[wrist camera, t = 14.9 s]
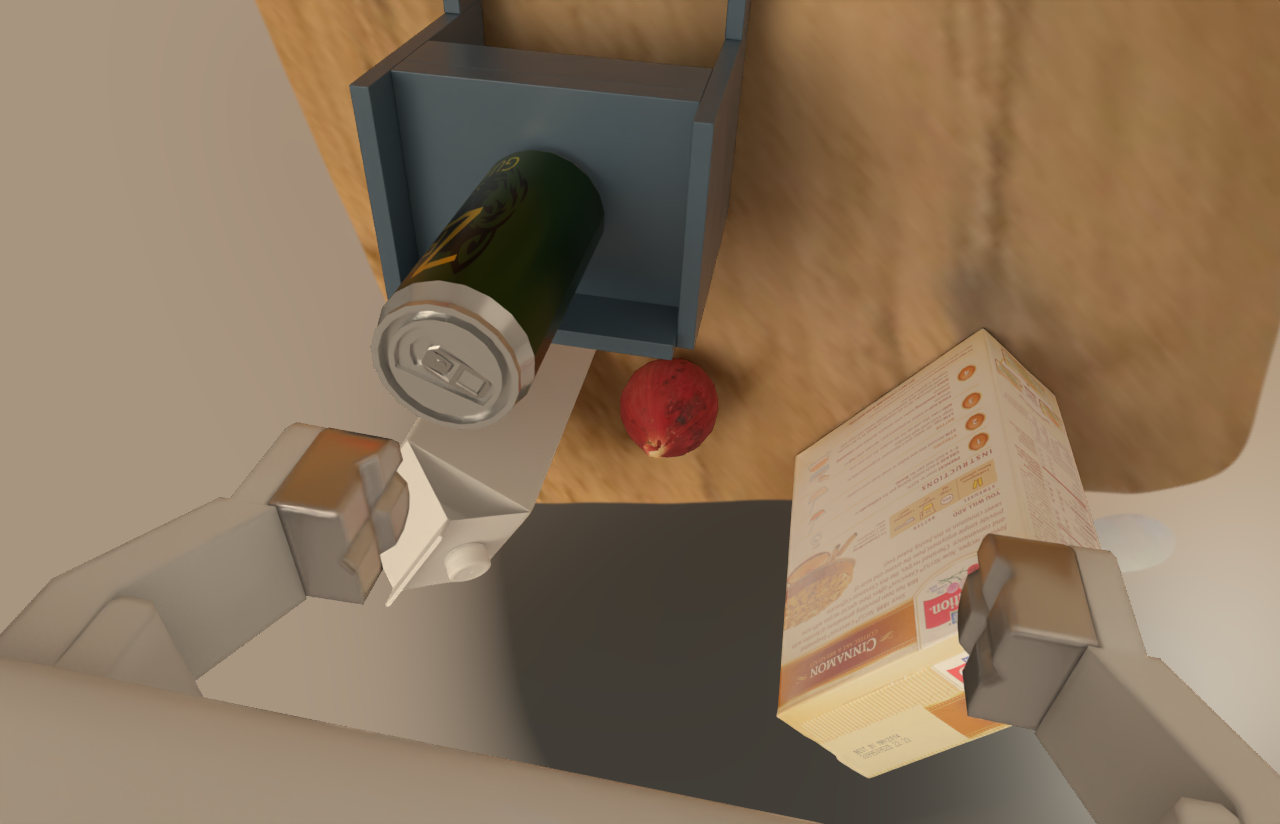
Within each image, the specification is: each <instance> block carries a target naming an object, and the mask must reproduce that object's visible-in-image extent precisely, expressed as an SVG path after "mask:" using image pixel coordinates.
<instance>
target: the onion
mask: <svg viewBox="0 0 1280 824" xmlns="http://www.w3.org/2000/svg"><path fill="white" fill-rule="evenodd" d="M717 412H718V398H717V394H716V389H715V385H714V383H713V382H712V380H711V379H710V378H709V376H708V375H707V374H706V373H705V372H704V371H703V370H702V368H701V367H700V366H698V365H696V364H694V363H691V362H689V361H687V360H685V359H675V358H672V360H665V359H661V360H656V361H652V362H649V363H647V364H645V365H644V366H642V367H641V368H639V369H638V370H636V371H635V372H634V373H633V375H632V377H631V378H630V380H629V381H628V383H627V385H626V386H625V388H624V389H623V391H622V394H621V400H620V415H621V419H622V422H623V424H624V426H625V429H626V431H627V433H628V435H629V436H630V438H631V439H632V440H633V441H634V442H635V443H636V444H637V445H638V446H639V447H640V448H641V449H643V450H644V451H645V453H646V454H647V455H648V457H651V458H656V459H658V458H659V457H661V456H662V457H676V456H681V455H684V454H686V453H688V452H690V451H692V450H694V449H696V448H697V447H699V446H700V444H701V443H702V442H703V441H704V440H705V438H706V437H707V436H708V435H709V434H710V433H711V432H712V430H713V427H714V424H715V421H716V417H717Z"/></svg>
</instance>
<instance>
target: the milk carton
mask: <svg viewBox="0 0 1280 824" xmlns="http://www.w3.org/2000/svg"><path fill="white" fill-rule="evenodd" d="M595 352H596V350H594V349H587V348H580V347H573V346H566V345H559V344H552V343H551V345H550V347H549V349H548V351H547V353H546V355H545V357H544V359H543V361H542V363H541V366H540V368H539V370H538V372H537V374H536V376H535V378H534V380H533V382H532V385H531V387H530V389H529V391H528V393H527V395H526V396H525V397H524V398H522V399H521V400H520V401H519V402H518V403H517V404H516V405H515V406H514V407H513V408H512V410H511V411H510V412H509V413H508V414H507V415H505V416H504V417H503V418H502V419H501V420H500V421H499V422H497V423H494V424H491V425H489V426H486V427H483V428H480V429H462V430H460V429H454V428H449V427H444V426H439V425H436V424H434V423H432V422H430V421H427V420H425V419H423V418H420V417H418V418H417V420H416V422H415V423H414V425H413V426H412V428H411V430H410V431H409V433H408V435H407V436H406V438H405V439H404V441H403V443H402V445H401V446H400V450H401V454H402V458H403V461H402V463H401V464H400V466H399V468H398V469H397V472H398V473H399V474H400V475H401V476H402V477H403V478H404V480H405V481H406V482H407V483H408V489H409V494H410V501H409V513H408V517H407V521H406V524H405V528H404V531H403V533H402V534H401V536H400V538H399V540H398V542H397V544H396V545H395V546H393V547H392V548H390V549H388V550H387V551H385V552H383V553H382V554H380V557H381V561H382V566H383V568H384V571H385V573H386V575H387V577H388V579H389V581H390V583H391V585H392V587H393V591H392V592H391V594H390V596H389V598H388V600H387V602H386V604H385V606H387V607H389V606H390V605H391V603H392V602H393V601H394V600H395V598H396V597H397V596H398V595H399V593H400V592H401V591H402V590H405V589H411V588H417V587H423V586H430V585H436V584H442V583H448V582H462V581H467V580H471V579H474V578H476V577H478V576H480V575H482V574H484V573H485V572H486V571H487V570H488V569H489V568H490V566H491V562H490V559H491V558H492V557H493V555H495V553H496V552H497V551H498V550H499V549H500V548H501V547H502V545H503V544H504V543H505V542H506V541H507V540H508V539H509V537H510V536H511V535H512V534H513V533H514V532H515V531H516V530H517V528H518V527H519V526H520V525H521V524H522V523H523V522H524V520H525V519H526V518H527V517H528V515H529V514H530V513H531V511H532V509H533V507H534V505H535V502H536V500H537V497H538V495H539V492H540V490H541V487H542V485H543V482H544V480H545V477H546V475H547V472H548V470H549V467H550V465H551V462H552V460H553V457H554V455H555V452H556V450H557V447H558V445H559V442H560V440H561V437H562V435H563V432H564V430H565V427H566V425H567V422H568V420H569V417H570V415H571V412H572V410H573V407H574V405H575V402H576V400H577V397H578V395H579V392H580V390H581V387H582V385H583V382H584V380H585V377H586V375H587V372H588V370H589V367H590V365H591V362H592V360H593V357H594V355H595Z"/></svg>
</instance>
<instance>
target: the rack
mask: <svg viewBox="0 0 1280 824" xmlns="http://www.w3.org/2000/svg"><path fill="white" fill-rule="evenodd" d="M443 2H444V12H445V14H443V15H442V16H441V17H439V18H438V19H437V20H435V21H434V22H433V23H431V24H430V25H429V26H427V27H426V28H425V29H423V30H422V31H421V32H419V33H418V34H417V35H415V36H414V37H413V38H411V39H410V40H409V41H407V42H406V43H405V44H403V45H402V46H401V47H399V48H398V49H397V50H395V51H394V52H393V53H391V54H390V55H389V56H387V57H386V58H385V59H383V60H382V61H381V62H379V63H378V64H377V65H375V66H374V67H373V68H371V69H370V70H369V71H367V72H366V73H365V74H363V75H362V76H361V77H359V78H358V79H357V80H355V81H354V82H353V83H351V84H350V85H349V87H350V92H351V98H352V103H353V109H354V114H355V120H356V126H357V131H358V137H359V142H360V148H361V153H362V159H363V164H364V170H365V176H366V181H367V187H368V192H369V198H370V203H371V209H372V214H373V220H374V226H375V231H376V237H377V242H378V248H379V253H380V259H381V264H382V270H383V276H384V281H385V287H386V292H387V298H388V300H389V299H390V297H391V296H392V295H393V294H394V292H395V291H396V290H397V288H398V287H399V286H400V285H401V283H402V282H403V281H404V279H405V278H406V277H407V276H408V274H409V273H410V272H411V271H412V269H413V268H414V267H415V265H416V264H417V263H418V262H419V260H420V259H421V258H422V256H423V255H424V254H425V253H426V251H427V250H428V249H429V247H430V246H431V245H432V244H433V242H434V241H435V240H436V239H437V237H438V236H439V235H440V233H441V232H442V231H443V230H444V228H445V227H446V226H447V224H448V223H449V222H450V221H451V219H452V218H453V217H454V216H455V214H456V213H457V212H458V210H459V209H460V208H461V207H462V205H463V204H464V203H465V201H466V200H467V199H468V198H469V196H470V195H471V194H472V192H473V191H474V190H475V189H476V187H477V186H478V185H479V184H480V182H481V181H482V180H483V178H484V177H485V176H486V175H487V173H488V172H489V171H490V170H491V169H492V167H493V166H494V165H495V164H496V162H497V161H499V160H501V159H503V158H505V157H506V156H508V155H510V154H512V153H514V152H521V151H527V150H543V151H549V152H555V153H558V154H560V155H562V156H564V157H566V158H568V159H570V160H572V161H574V162H575V163H576V164H577V165H578V166H580V167H581V168H582V169H583V170H584V171H585V172H586V173H587V174H588V175H589V177H590V179H591V180H592V182H593V183H594V185H595V187H596V188H597V190H598V192H599V194H600V198H601V202H602V205H603V209H604V213H605V217H604V232H603V234H602V236H601V239H600V241H599V243H598V245H597V248H596V250H595V252H594V254H593V256H592V258H591V260H590V262H589V264H588V267H587V269H586V271H585V273H584V275H583V277H582V279H581V281H580V283H579V285H578V288H577V290H576V292H575V294H574V296H573V298H572V300H571V302H570V304H569V307H568V309H567V311H566V313H565V315H564V317H563V319H562V321H561V323H560V326H559V328H558V330H557V332H556V334H555V336H554V338H553V340H552V342H551V343H552V344H559V345H566V346H573V347H580V348H587V349H594V350H602V351H609V352H616V353H623V354H630V355H637V356H644V357H651V358H658V359H665V360H672V358H673V354H674V351H675V347H679V348H686V349H694V347H695V343H696V339H697V335H698V331H699V327H700V323H701V319H702V315H703V311H704V307H705V303H706V299H707V295H708V291H709V287H710V283H711V279H712V275H713V271H714V267H715V263H716V259H717V255H718V251H719V247H720V243H721V239H722V235H723V231H724V227H725V223H726V219H727V215H728V207H729V197H730V188H731V179H732V170H733V160H734V151H735V142H736V133H737V124H738V114H739V105H740V96H741V87H742V77H743V68H744V59H745V50H746V40H747V31H748V21H749V12H750V3H751V0H728V8H727V19H726V30H725V41H724V43H723V46H722V48H721V51H720V53H719V56H718V58H717V61H716V64H715V66H714V69H712V68H703V67H692V66H682V65H672V64H662V63H652V62H642V61H631V60H621V59H611V58H601V57H591V56H580V55H570V54H560V53H550V52H540V51H530V50H519V49H509V48H499V47H489V46H485V40H484V27H483V14H482V1H481V0H443Z"/></svg>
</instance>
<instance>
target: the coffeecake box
mask: <svg viewBox="0 0 1280 824" xmlns="http://www.w3.org/2000/svg"><path fill="white" fill-rule="evenodd" d="M988 533H991V534H998V535H1004V536H1011V537H1018V538H1025V539H1031V540H1038V541H1045V542H1051V543H1058V544H1064V545H1066V546H1068V545H1072V546H1079V547H1086V548H1093V549H1100V550H1101V547H1100V544H1099V541H1098V537H1097V534H1096V531H1095V527H1094V524H1093V520H1092V517H1091V514H1090V510H1089V507H1088V503H1087V500H1086V497H1085V493H1084V490H1083V486H1082V483H1081V480H1080V476H1079V473H1078V470H1077V466H1076V463H1075V460H1074V456H1073V453H1072V450H1071V447H1070V443H1069V440H1068V437H1067V433H1066V430H1065V426H1064V423H1063V420H1062V416H1061V413H1060V410H1059V407H1058V404H1057V401H1056V397H1055V395H1054V394H1053V393H1052V392H1051V391H1049V390H1048V389H1047V388H1046V387H1045V386H1044V385H1043V384H1042V383H1041V382H1040V381H1039V380H1038V379H1036V378H1035V377H1034V376H1033V375H1032V374H1031V373H1030V372H1029V371H1028V370H1027V369H1026V368H1025V367H1024V366H1023V365H1021V364H1020V363H1019V362H1018V361H1017V360H1016V359H1015V358H1014V357H1013V356H1012V355H1011V354H1010V353H1009V352H1008V351H1007V350H1006V349H1005V348H1004V347H1003V346H1002V345H1001V344H1000V343H999V342H998V341H997V340H996V339H995V338H993V337H992V336H991V335H990V334H989V333H988V332H987V331H986V330H985V329H984V328H983V329H981V330H979V331H978V332H976V333H975V334H973V335H972V336H970V337H969V338H967V339H966V340H964V341H963V342H961V343H960V344H958V345H957V346H955V347H954V348H952V349H951V350H950V351H948V352H947V353H945V354H944V355H942V356H941V357H939V358H938V359H936V360H935V361H934V362H932V363H931V364H929V365H928V366H926V367H925V368H923V369H922V370H920V371H919V372H918V373H916V374H915V375H913V376H912V377H910V378H909V379H907V380H906V381H904V382H903V383H901V384H900V385H899V386H897V387H896V388H894V389H893V390H891V391H890V392H888V393H887V394H886V395H884V396H883V397H881V398H880V399H878V400H877V401H875V402H874V403H872V404H871V405H869V406H868V407H867V408H865V409H864V410H862V411H861V412H859V413H858V414H856V415H855V416H853V417H852V418H851V419H849V420H848V421H846V422H845V423H843V424H842V425H841V426H839V427H838V428H836V429H835V430H833V431H832V432H830V433H829V434H827V435H826V436H824V437H823V438H822V439H820V440H819V441H817V442H816V443H814V444H813V445H811V446H810V447H808V448H807V449H806V450H804V451H803V452H801V453H800V454H798V455H797V456H795V472H794V487H793V502H792V516H791V529H790V545H789V559H788V575H787V589H786V603H785V618H784V631H783V633H784V634H783V645H782V659H781V675H780V690H779V691H780V692H779V703H778V712H777V717H778V718H779V719H781V720H783V721H784V722H786V723H787V724H788V725H790V726H792V727H793V728H794V729H796V730H797V731H799V732H800V733H802V734H803V735H805V736H807V737H808V738H810V739H812V740H814V741H816V742H817V743H818V744H820V745H821V746H823V747H824V748H826V749H827V750H828V751H830V752H831V753H833V754H834V755H836V757H837V759H838V760H839V761H840V762H842V763H843V764H845V765H846V766H848V767H850V768H851V769H853V770H855V771H856V772H858V773H860V774H861V775H863V776H865V777H867V778H871V777H874V776H877V775H879V774H882V773H885V772H887V771H890V770H893V769H896V768H898V767H901V766H903V765H907V764H909V763H912V762H915V761H917V760H920V759H923V758H926V757H928V756H931V755H934V754H936V753H939V752H942V751H944V750H947V749H950V748H953V747H955V746H958V745H961V744H963V743H966V742H969V741H972V740H975V739H977V738H980V737H983V736H985V735H988V734H991V733H993V732H996V731H999V730H1002V729H1004V728H1007V727H1009V726H1012V725H1007V724H1002V723H998V722H993V721H988V720H983V719H979V718H974V717H969V716H968V715H967V707H966V699H965V690H964V682H963V674H962V671H963V669H964V667H965V665H966V663H967V660H968V658H969V654H968V653H967V652H966V651H965V650H964V648H963V647H962V646H961V645H960V644H959V637H958V627H957V626H958V607H959V601H960V595H961V591H962V588H963V585H964V583H965V580H966V577H967V575H968V574H970V573H972V572H974V571H975V570H977V569H979V564H978V556H977V551H978V549H979V547H980V545H981V542H982V540H983V539H984V538H985V536H986V535H987V534H988Z"/></svg>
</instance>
